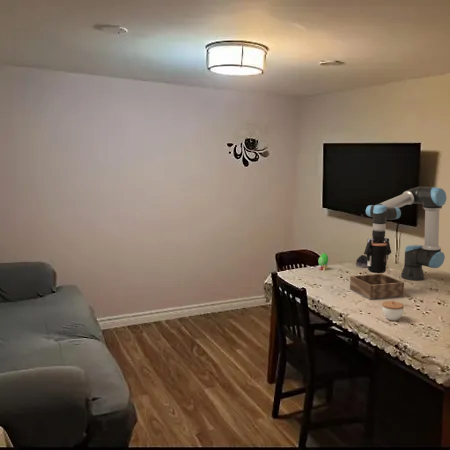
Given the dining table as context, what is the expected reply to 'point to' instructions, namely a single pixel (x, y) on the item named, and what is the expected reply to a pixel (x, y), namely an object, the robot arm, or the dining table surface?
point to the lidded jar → (392, 310)
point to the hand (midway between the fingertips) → (377, 265)
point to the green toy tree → (323, 261)
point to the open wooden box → (376, 286)
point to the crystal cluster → (362, 261)
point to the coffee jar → (378, 257)
